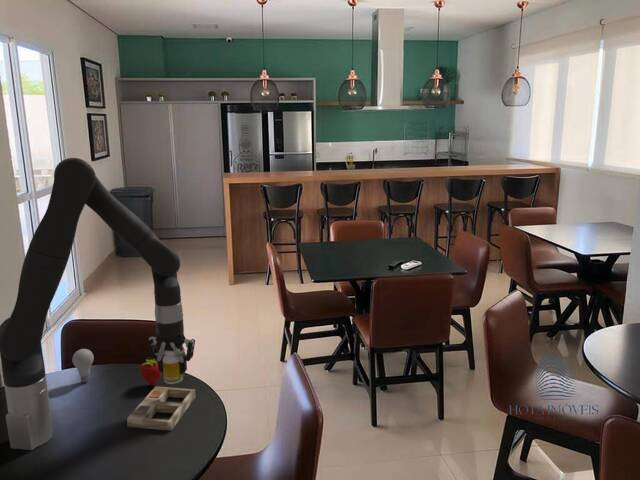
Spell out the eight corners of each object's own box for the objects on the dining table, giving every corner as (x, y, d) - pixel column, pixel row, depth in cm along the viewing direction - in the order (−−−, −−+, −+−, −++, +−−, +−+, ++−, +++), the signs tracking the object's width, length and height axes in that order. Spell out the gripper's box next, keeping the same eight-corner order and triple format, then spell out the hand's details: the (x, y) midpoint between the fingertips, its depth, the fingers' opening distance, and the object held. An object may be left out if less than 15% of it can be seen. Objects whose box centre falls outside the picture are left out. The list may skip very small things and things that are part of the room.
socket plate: (171, 430, 139) (170, 421, 138) (127, 426, 141) (126, 417, 140) (195, 396, 156) (195, 388, 155) (156, 393, 158) (155, 385, 157)
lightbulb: (81, 388, 161) (77, 355, 158) (71, 382, 164) (67, 350, 162) (99, 380, 165) (96, 349, 163) (89, 375, 169) (86, 344, 166)
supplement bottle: (183, 383, 149) (180, 351, 146) (163, 385, 147) (161, 353, 145) (183, 374, 154) (181, 344, 152) (164, 376, 153) (162, 345, 150)
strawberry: (154, 392, 158) (151, 362, 156) (136, 386, 162) (134, 357, 159) (168, 384, 163) (166, 355, 161) (151, 378, 167) (148, 350, 165)
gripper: (138, 321, 143) (143, 376, 147) (188, 323, 141) (191, 380, 145) (151, 311, 151) (155, 364, 155) (198, 313, 149) (201, 368, 153)
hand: (173, 372), depth 150 cm, fingers closed on supplement bottle, 5 cm apart
